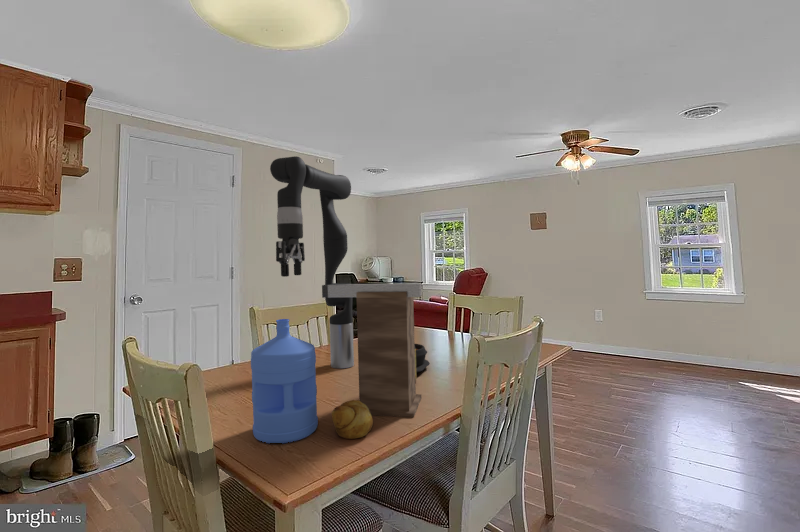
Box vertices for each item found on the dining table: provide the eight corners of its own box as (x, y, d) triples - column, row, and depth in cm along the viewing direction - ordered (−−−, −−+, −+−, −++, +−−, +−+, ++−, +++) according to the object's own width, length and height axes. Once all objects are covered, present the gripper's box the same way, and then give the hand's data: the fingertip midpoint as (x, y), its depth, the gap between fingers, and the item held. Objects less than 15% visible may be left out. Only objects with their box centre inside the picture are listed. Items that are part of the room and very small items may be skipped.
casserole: (381, 361, 167) (381, 341, 166) (426, 359, 167) (425, 339, 167) (381, 379, 142) (380, 355, 142) (433, 377, 142) (433, 353, 142)
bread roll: (337, 420, 106) (336, 391, 106) (374, 419, 106) (373, 389, 106) (330, 443, 93) (329, 409, 93) (372, 441, 94) (371, 407, 93)
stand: (367, 395, 125) (364, 288, 124) (421, 397, 122) (418, 287, 121) (352, 414, 110) (349, 292, 109) (413, 417, 107) (410, 292, 106)
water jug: (251, 425, 104) (247, 318, 104) (311, 414, 111) (308, 313, 110) (255, 451, 90) (251, 327, 90) (324, 437, 96) (320, 321, 96)
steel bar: (327, 296, 117) (326, 284, 117) (421, 295, 112) (421, 283, 112) (322, 297, 114) (321, 285, 114) (419, 297, 108) (419, 284, 108)
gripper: (290, 220, 115) (292, 276, 115) (311, 224, 129) (312, 274, 129) (266, 221, 116) (268, 277, 117) (289, 225, 130) (291, 275, 130)
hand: (291, 275), depth 123 cm, fingers open, 8 cm apart
